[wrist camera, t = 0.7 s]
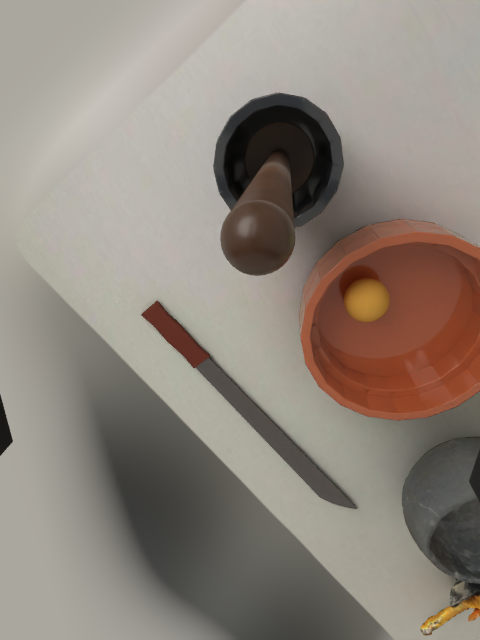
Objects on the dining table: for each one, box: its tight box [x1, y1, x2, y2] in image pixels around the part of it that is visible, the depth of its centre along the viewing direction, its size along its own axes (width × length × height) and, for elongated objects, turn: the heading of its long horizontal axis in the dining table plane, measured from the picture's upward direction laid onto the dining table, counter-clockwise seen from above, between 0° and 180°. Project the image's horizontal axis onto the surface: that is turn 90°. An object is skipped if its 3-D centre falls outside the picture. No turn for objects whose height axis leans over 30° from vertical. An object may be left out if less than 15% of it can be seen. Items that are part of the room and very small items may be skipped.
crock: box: [213, 93, 344, 227], centre depth 32 cm, size 8×8×10 cm
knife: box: [142, 301, 357, 509], centre depth 48 cm, size 3×35×1 cm, turn 41°
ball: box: [344, 278, 390, 322], centre depth 38 cm, size 4×4×4 cm
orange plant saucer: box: [299, 219, 480, 420], centre depth 38 cm, size 18×18×6 cm
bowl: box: [402, 437, 480, 584], centre depth 44 cm, size 15×15×10 cm
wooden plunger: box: [220, 121, 315, 276], centre depth 22 cm, size 6×6×30 cm
